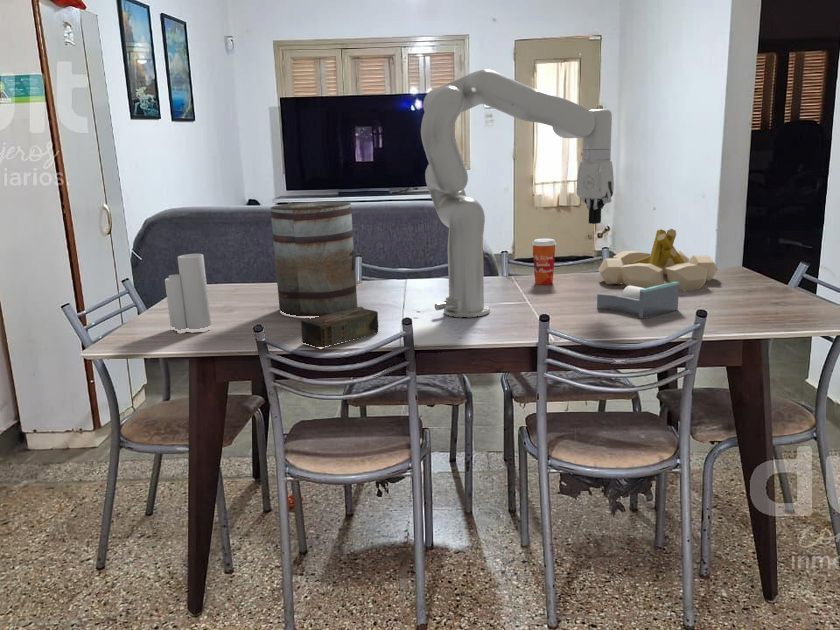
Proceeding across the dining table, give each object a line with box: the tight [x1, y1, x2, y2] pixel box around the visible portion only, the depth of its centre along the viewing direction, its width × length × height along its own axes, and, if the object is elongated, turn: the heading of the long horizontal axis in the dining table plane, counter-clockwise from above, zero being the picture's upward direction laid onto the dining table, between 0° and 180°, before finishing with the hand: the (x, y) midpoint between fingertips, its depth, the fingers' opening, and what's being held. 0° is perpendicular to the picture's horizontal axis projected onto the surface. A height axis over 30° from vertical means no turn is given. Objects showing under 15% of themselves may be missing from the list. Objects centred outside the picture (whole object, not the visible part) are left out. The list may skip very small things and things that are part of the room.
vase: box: [164, 253, 212, 330], centre depth 189 cm, size 11×7×20 cm, turn 85°
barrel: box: [269, 201, 358, 316], centre depth 206 cm, size 22×22×30 cm
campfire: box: [598, 228, 719, 292], centre depth 227 cm, size 35×34×17 cm
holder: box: [596, 282, 680, 319], centre depth 194 cm, size 14×16×8 cm
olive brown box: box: [300, 306, 379, 347], centre depth 177 cm, size 8×19×7 cm, turn 136°
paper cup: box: [531, 238, 558, 286], centre depth 230 cm, size 8×8×14 cm
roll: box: [620, 285, 644, 300], centre depth 193 cm, size 10×6×6 cm, turn 34°
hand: (594, 223), depth 201 cm, fingers closed
